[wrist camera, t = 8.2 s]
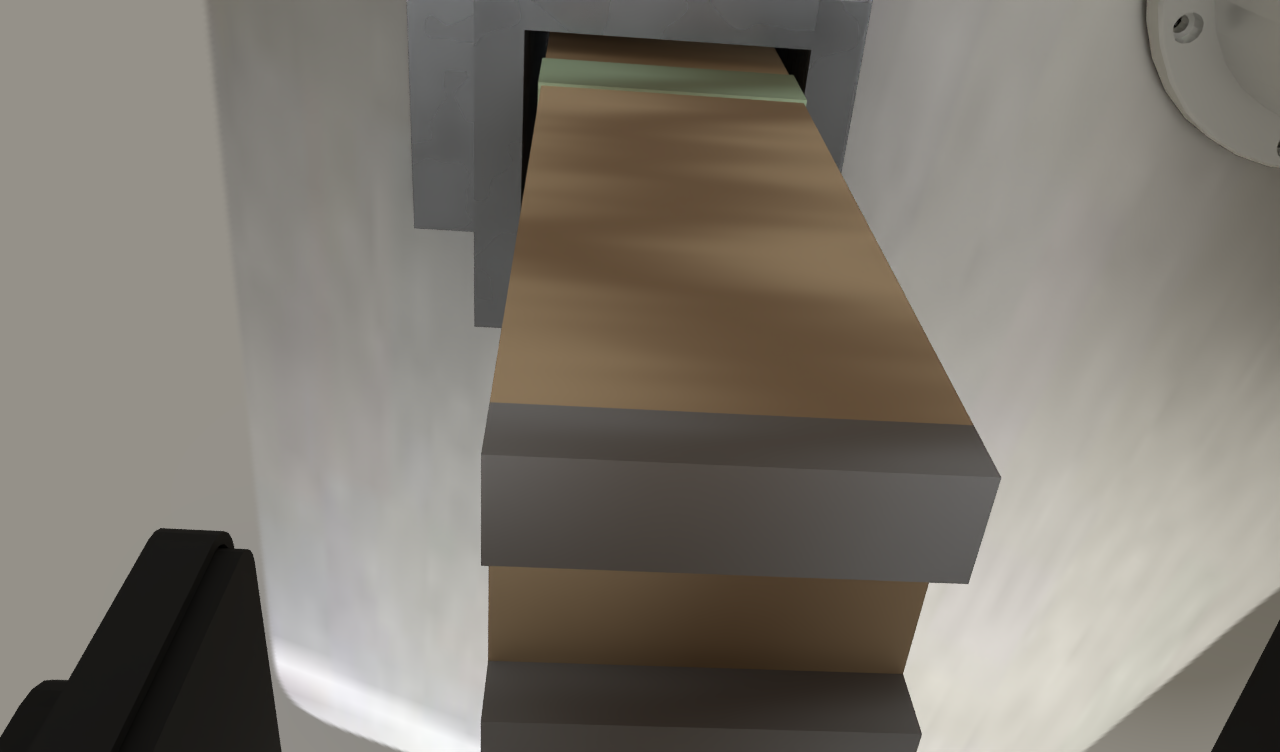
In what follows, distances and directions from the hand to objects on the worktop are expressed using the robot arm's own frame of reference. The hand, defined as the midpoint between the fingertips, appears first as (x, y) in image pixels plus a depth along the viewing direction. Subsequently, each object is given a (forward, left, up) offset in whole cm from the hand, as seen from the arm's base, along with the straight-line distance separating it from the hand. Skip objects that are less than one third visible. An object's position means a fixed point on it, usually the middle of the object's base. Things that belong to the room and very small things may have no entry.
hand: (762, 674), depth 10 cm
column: (0, 0, -19) cm, 19 cm away
